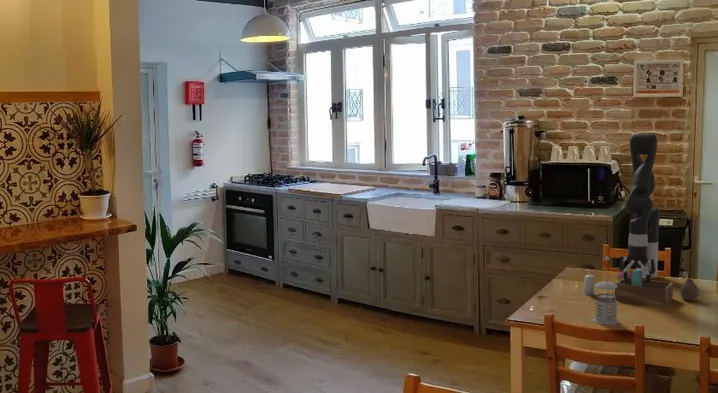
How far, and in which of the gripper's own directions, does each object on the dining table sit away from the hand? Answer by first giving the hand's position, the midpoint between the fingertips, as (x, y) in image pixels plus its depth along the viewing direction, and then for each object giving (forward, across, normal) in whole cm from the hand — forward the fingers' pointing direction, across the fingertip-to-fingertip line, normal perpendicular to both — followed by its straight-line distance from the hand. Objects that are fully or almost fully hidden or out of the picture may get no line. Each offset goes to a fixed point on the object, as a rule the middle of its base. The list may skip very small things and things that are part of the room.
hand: (636, 281), depth 302 cm
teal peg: (+7, 0, 0) cm, 7 cm away
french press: (+7, +1, +39) cm, 40 cm away
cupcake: (+7, +9, -17) cm, 21 cm away
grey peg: (+7, +19, +3) cm, 21 cm away
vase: (+7, -19, -9) cm, 22 cm away
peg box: (+7, -3, 0) cm, 8 cm away
